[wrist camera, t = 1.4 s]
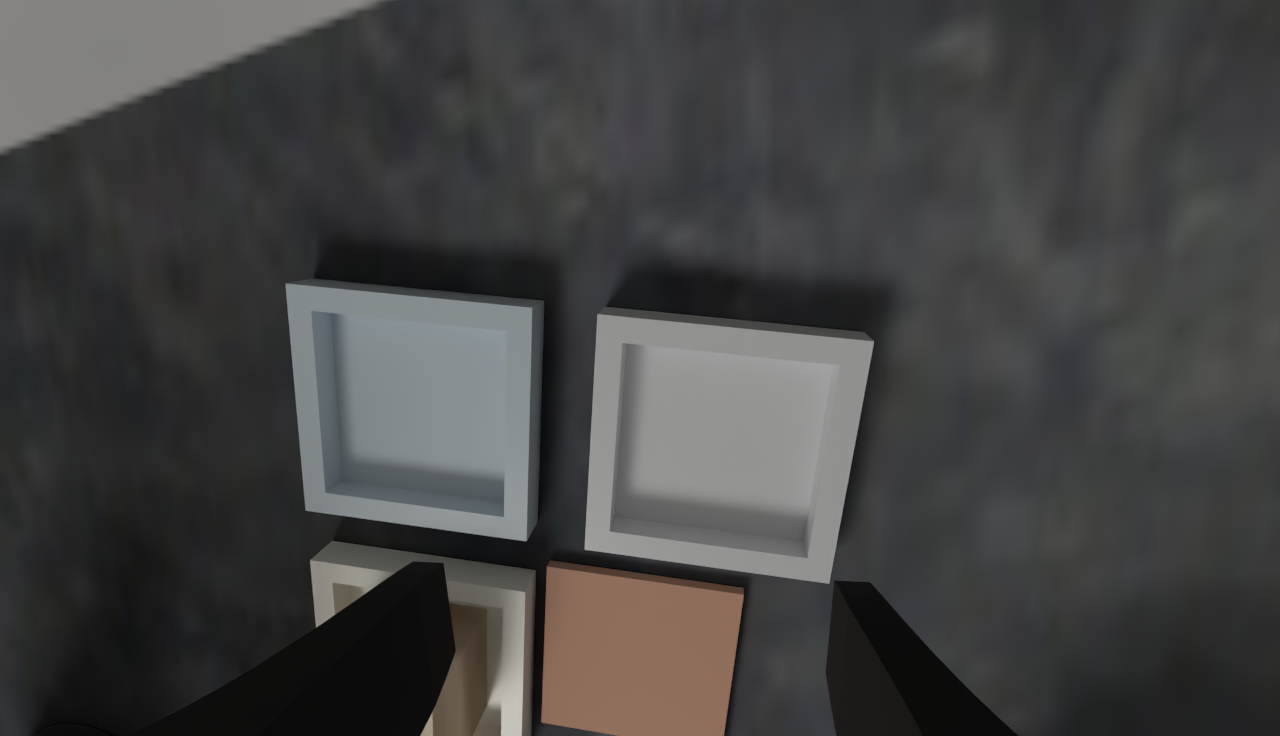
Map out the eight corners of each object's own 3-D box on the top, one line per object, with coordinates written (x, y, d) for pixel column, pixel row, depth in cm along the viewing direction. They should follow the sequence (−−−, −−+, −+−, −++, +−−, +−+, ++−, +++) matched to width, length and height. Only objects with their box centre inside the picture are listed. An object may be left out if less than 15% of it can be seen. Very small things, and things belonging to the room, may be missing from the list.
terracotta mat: (743, 587, 21) (743, 594, 21) (721, 743, 23) (721, 753, 23) (549, 560, 22) (546, 566, 22) (544, 714, 24) (541, 722, 24)
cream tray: (536, 570, 22) (525, 592, 21) (531, 741, 24) (520, 770, 23) (331, 540, 23) (309, 560, 22) (345, 709, 25) (325, 735, 24)
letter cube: (487, 609, 23) (430, 707, 18) (486, 705, 24) (433, 820, 19) (373, 591, 23) (291, 683, 19) (378, 687, 24) (303, 795, 20)
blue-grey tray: (544, 301, 19) (532, 307, 18) (537, 521, 22) (526, 541, 20) (311, 278, 20) (285, 283, 19) (328, 493, 22) (305, 510, 21)
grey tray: (863, 331, 18) (874, 341, 17) (822, 560, 21) (828, 583, 19) (605, 306, 19) (597, 314, 18) (592, 529, 21) (584, 549, 20)
